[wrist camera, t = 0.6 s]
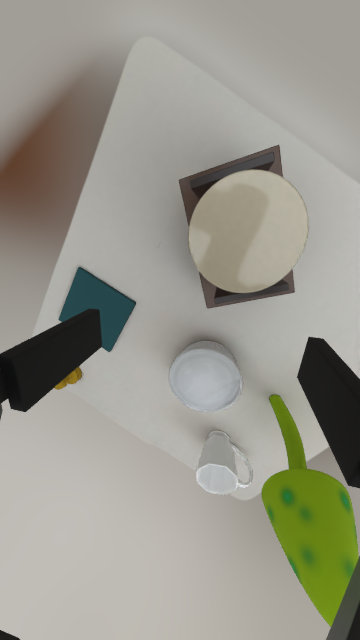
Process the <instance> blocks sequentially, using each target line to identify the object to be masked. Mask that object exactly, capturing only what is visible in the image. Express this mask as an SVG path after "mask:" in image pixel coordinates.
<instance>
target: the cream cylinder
mask: <svg viewBox="0 0 360 640" xmlns="http://www.w3.org/2000/svg"><path fill="white" fill-rule="evenodd" d="M307 236H308V215H307V210H306V207H305V203H304V201H303V199H302V197H301V195H300V194H299V192H298V191H297V189H296V188H295V187H294V186H293V185H292V184H291V183H290V182H289V181H287V180H286V179H285V178H283V177H281V176H279V175H277V174H275V173H272V172H269V171H265V170H253V169H252V170H243V171H239V172H236V173H233V174H231V175H228V176H226V177H224V178H223V179H221V180H219V181H218V182H217V183H215V184H214V185H213V186H212V187H211V188H210V189H209V190H207V191H206V193H205V194H204V195H203V196H202V198H201V199H200V201H199V202H198V204H197V206H196V208H195V210H194V212H193V215H192V218H191V221H190V226H189V234H188V240H189V249H190V253H191V257H192V259H193V262H194V264H195V266H196V267H197V269H198V271H199V272H200V273H201V274H202V276H203V277H204V278H205V279H207V280H208V281H209V282H210V283H212V284H213V285H215V286H217V287H218V288H221V289H223V290H226V291H230V292H235V293H250V292H256V291H260V290H263V289H265V288H268V287H270V286H272V285H274V284H275V283H277V282H278V281H280V280H281V279H282V278H284V277H285V276H286V275H287V274H288V273H289V272H290V271H291V270H292V268H293V267H294V266H295V264H296V263H297V262H298V260H299V258H300V256H301V255H302V252H303V250H304V247H305V245H306V241H307Z"/></svg>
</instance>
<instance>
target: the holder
mask: <svg viewBox="0 0 360 640" xmlns="http://www.w3.org/2000/svg"><path fill="white" fill-rule="evenodd" d="M252 169H253V170H265V171H269V172H272V173H275V174H277V175H279V176H281V177H283V175H282V166H281V156H280V147H279V145H277V146H274V147H271V148H268V149H265V150H263V151H260V152H257V153H254V154H251V155H248V156H245V157H243V158H240V159H237V160H234V161H231V162H228V163H225V164H222V165H220V166H217V167H214V168H211V169H208V170H205V171H202V172H200V173H197V174H194V175H191V176H188V177H185V178H182V179H180V180H179V184H180V188H181V193H182V197H183V202H184V206H185V211H186V216H187V220H188V225H189V226H190V221H191V218H192V215H193V212H194V210H195V208H196V206H197V204H198V202H199V201H200V199H201V198H202V196H203V195H204V194H205V193H206V191H207V190H209V189H210V188H211V187H212V186H213V185H214V184H215V183H217V182H218V181H219V180H221V179H223V178H224V177H226V176H228V175H231V174H233V173H236V172H239V171H243V170H252ZM199 274H200V279H201V283H202V288H203V292H204V297H205V301H206V306H207V308H213V307H218V306H224V305H229V304H235V303H240V302H245V301H251V300H256V299H262V298H267V297H273V296H278V295H283V294H289V293H294V292H295V290H294V280H293V271H292V270H291V271H290V272H289V273H288V274H287V275H286V276H285V277H284V278H282V279H281V280H280V281H278V282H277V283H275V284H274V285H272V286H270V287H268V288H265V289H263V290H260V291H256V292H250V293H235V292H230V291H226V290H223V289H221V288H218V287H217V286H215V285H213V284H212V283H210V282H209V281H208V280H207V279H205V278H204V277H203V276H202V274H201V273H200V272H199Z"/></svg>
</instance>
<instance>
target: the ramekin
mask: <svg viewBox="0 0 360 640" xmlns="http://www.w3.org/2000/svg"><path fill="white" fill-rule="evenodd" d="M169 383H170V387H171V389H172V391H173V393H174V394H175V396H176V397H177V398H178V399H179V400H180V401H181V402H182V403H183V404H184V405H186V406H188V407H189V408H192V409H194V410H197V411H201V412H217V411H221V410H224V409H226V408H228V407H230V406H231V405H233V404H234V403H235V402H236V401H237V399H238V398H239V396H240V394H241V391H242V387H243V380H242V374H241V371H240V369H239V367H238V365H237V364H236V361H235V358H234V357H233V355H232V354H231V353H230V351H229V350H228V349H227V348H225V347H224V346H222V345H221V344H218V343H216V342H213V341H199V342H196V343H193V344H191V345H189V346H188V347H186V348H185V349H184V350H183V352H181V353H180V354H179V355H178V356H177V357H176V358H175V359H174V361H173V363H172V365H171V367H170V370H169Z"/></svg>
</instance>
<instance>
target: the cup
mask: <svg viewBox="0 0 360 640" xmlns="http://www.w3.org/2000/svg"><path fill="white" fill-rule="evenodd" d="M229 441H230V437H229V436H228V435H227V434H226V433H225V432H224V431H217V430H214V431H212V432H211V433H209V434H208V439H207V440H206V442H205V445H204V447H203V450H202V453H201V457H200V460H199V463H198V466H197V470H196V474H197V475H196V476H197V477H196V480H197V483H198V484H199V485H201V486H202V487H203V488H204V489H205V490H206V491H207V492H210V493H216V494H221V495H226V494H228V493H230V492H232V491H234V490H237V486H239V487H242V488H246V487H248V486H249V485H250V484H251V482H252V479H253V469H252V466H251V464H250V462H249V461H248V459H247V458H246V457H245V456H244V454H243V453H242V452H241V451H240V450H239V449H238V448H237V447H236V446H235V445H233V444H232V443H230V442H229ZM232 449H233V450H234V451H235V452H236V453H237V454H238V455H239V456H240V457H241V458H242V460H243V461H244V462H245V464H246V465H247V466H248V469H249V472H250V477H249V482H248V483H244V482H242V481H241V480H239V479H238V474H237V469H236V464H235V459H234V453H233V450H232Z"/></svg>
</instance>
